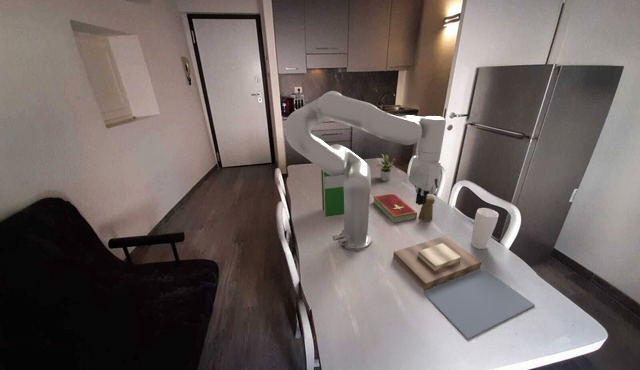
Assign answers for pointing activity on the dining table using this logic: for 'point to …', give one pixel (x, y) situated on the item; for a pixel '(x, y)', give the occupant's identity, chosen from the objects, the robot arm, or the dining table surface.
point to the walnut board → (425, 273)
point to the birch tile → (439, 256)
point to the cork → (427, 209)
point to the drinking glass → (483, 227)
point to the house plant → (385, 169)
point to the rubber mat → (477, 302)
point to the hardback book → (332, 194)
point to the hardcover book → (394, 207)
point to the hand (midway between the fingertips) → (420, 203)
